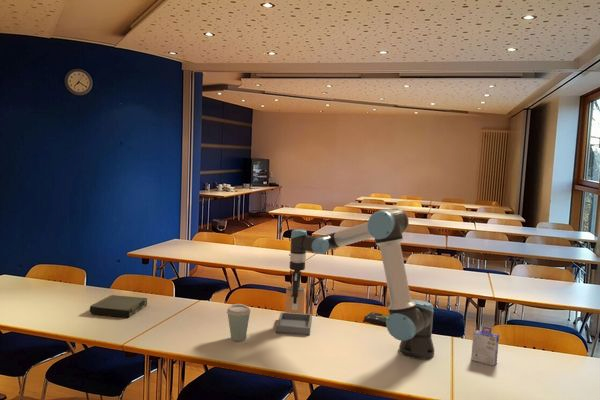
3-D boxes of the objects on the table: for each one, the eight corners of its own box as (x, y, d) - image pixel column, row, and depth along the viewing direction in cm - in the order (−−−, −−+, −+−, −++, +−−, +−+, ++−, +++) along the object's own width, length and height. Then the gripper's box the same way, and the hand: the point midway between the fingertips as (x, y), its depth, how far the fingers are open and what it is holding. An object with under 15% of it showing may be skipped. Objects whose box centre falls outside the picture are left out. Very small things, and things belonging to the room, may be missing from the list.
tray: (309, 335, 228) (309, 328, 227) (275, 332, 229) (276, 325, 229) (311, 321, 248) (312, 314, 247) (280, 318, 249) (281, 312, 248)
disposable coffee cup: (254, 339, 219) (255, 307, 218) (236, 345, 212) (237, 312, 210) (239, 333, 227) (240, 301, 225) (221, 338, 219) (222, 306, 217)
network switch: (133, 319, 239) (133, 309, 239) (86, 317, 239) (86, 307, 239) (148, 305, 262) (149, 296, 262) (105, 302, 262) (106, 293, 262)
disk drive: (363, 322, 252) (390, 328, 244) (363, 316, 251) (391, 322, 244) (371, 316, 261) (397, 322, 253) (371, 311, 260) (398, 317, 253)
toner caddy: (303, 313, 234) (304, 290, 233) (285, 312, 235) (286, 289, 234) (304, 309, 240) (305, 287, 239) (286, 308, 241) (287, 286, 240)
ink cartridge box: (497, 361, 207) (500, 329, 206) (494, 366, 203) (497, 333, 201) (473, 356, 212) (476, 324, 211) (470, 360, 208) (473, 327, 206)
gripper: (291, 256, 245) (289, 301, 247) (287, 265, 226) (285, 313, 228) (306, 257, 244) (304, 302, 247) (303, 266, 225) (301, 314, 228)
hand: (295, 307), depth 237 cm, fingers closed on toner caddy, 6 cm apart
